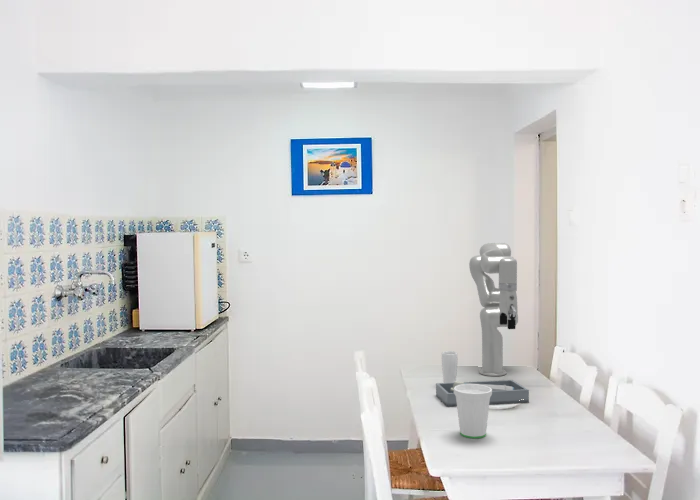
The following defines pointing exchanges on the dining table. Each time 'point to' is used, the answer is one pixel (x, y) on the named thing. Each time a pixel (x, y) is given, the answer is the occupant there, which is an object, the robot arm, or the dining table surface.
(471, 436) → the cup
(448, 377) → the drinking glass
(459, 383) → the white electric toothbrush
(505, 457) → the dining table surface
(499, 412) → the dining table surface
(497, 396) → the bin
